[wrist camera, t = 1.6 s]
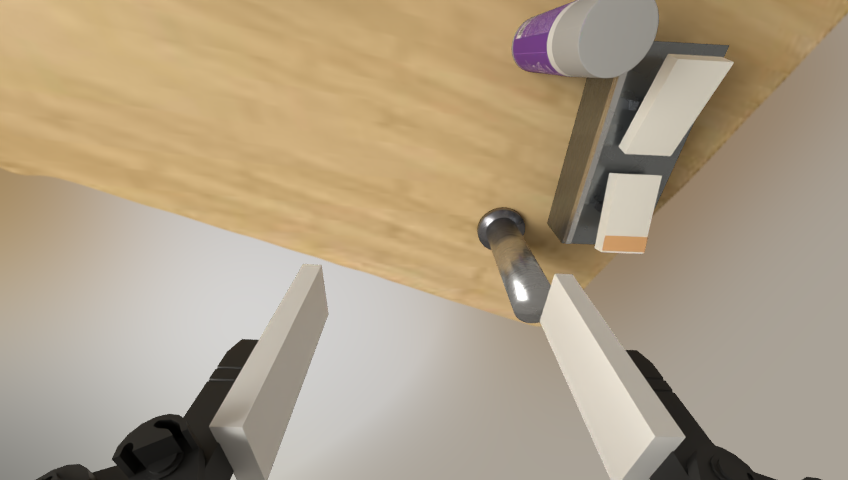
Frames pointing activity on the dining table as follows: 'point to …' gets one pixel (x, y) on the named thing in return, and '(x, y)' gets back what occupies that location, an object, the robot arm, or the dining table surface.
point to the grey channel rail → (610, 143)
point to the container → (587, 38)
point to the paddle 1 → (627, 213)
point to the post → (515, 262)
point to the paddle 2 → (673, 103)
